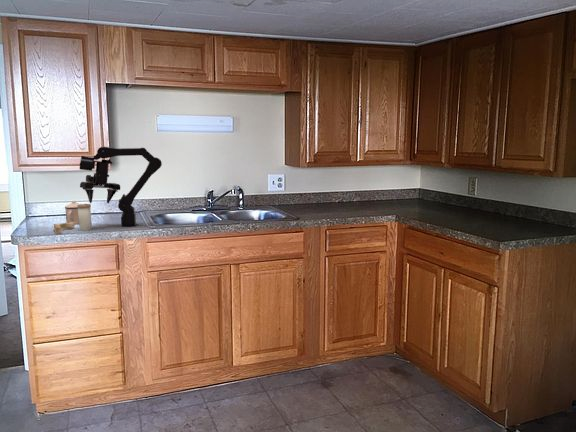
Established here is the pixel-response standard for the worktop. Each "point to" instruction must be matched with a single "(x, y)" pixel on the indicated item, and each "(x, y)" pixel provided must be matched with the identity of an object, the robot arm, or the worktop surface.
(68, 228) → the stand
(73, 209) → the beige lidded jar
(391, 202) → the worktop surface
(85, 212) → the tea canister
